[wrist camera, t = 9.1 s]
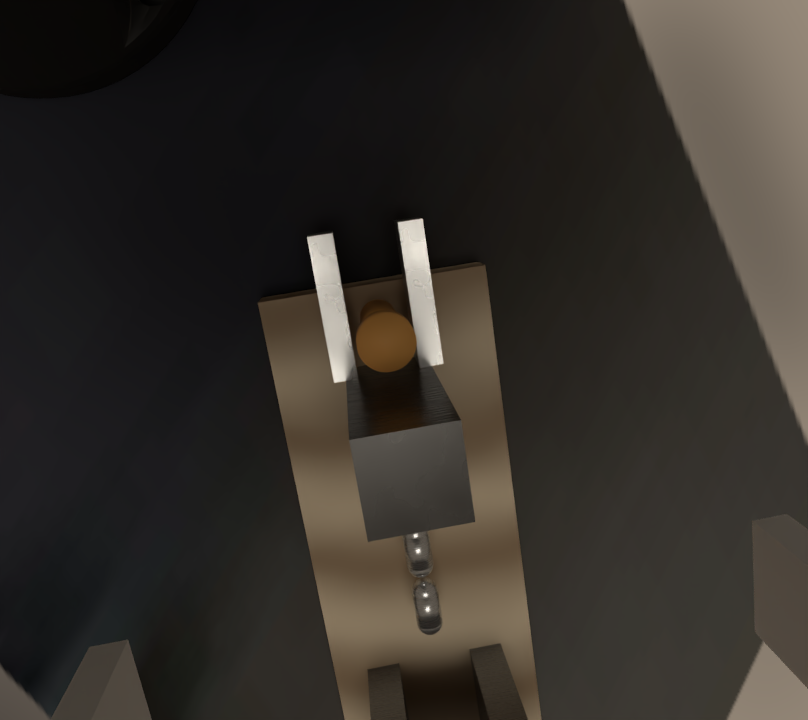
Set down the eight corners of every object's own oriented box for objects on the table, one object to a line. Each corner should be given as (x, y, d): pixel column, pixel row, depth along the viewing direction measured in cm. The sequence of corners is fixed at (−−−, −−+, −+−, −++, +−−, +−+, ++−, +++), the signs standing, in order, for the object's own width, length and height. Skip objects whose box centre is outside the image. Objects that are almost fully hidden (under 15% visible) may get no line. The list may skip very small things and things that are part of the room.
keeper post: (349, 296, 30) (351, 318, 25) (399, 288, 30) (411, 308, 25) (357, 345, 31) (361, 377, 25) (406, 337, 31) (420, 366, 26)
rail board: (261, 297, 31) (257, 302, 30) (478, 261, 32) (485, 264, 30) (358, 765, 38) (359, 788, 36) (537, 728, 38) (545, 750, 37)
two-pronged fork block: (308, 234, 29) (296, 252, 20) (417, 216, 29) (451, 227, 20) (380, 619, 34) (395, 769, 25) (473, 601, 34) (520, 744, 25)
